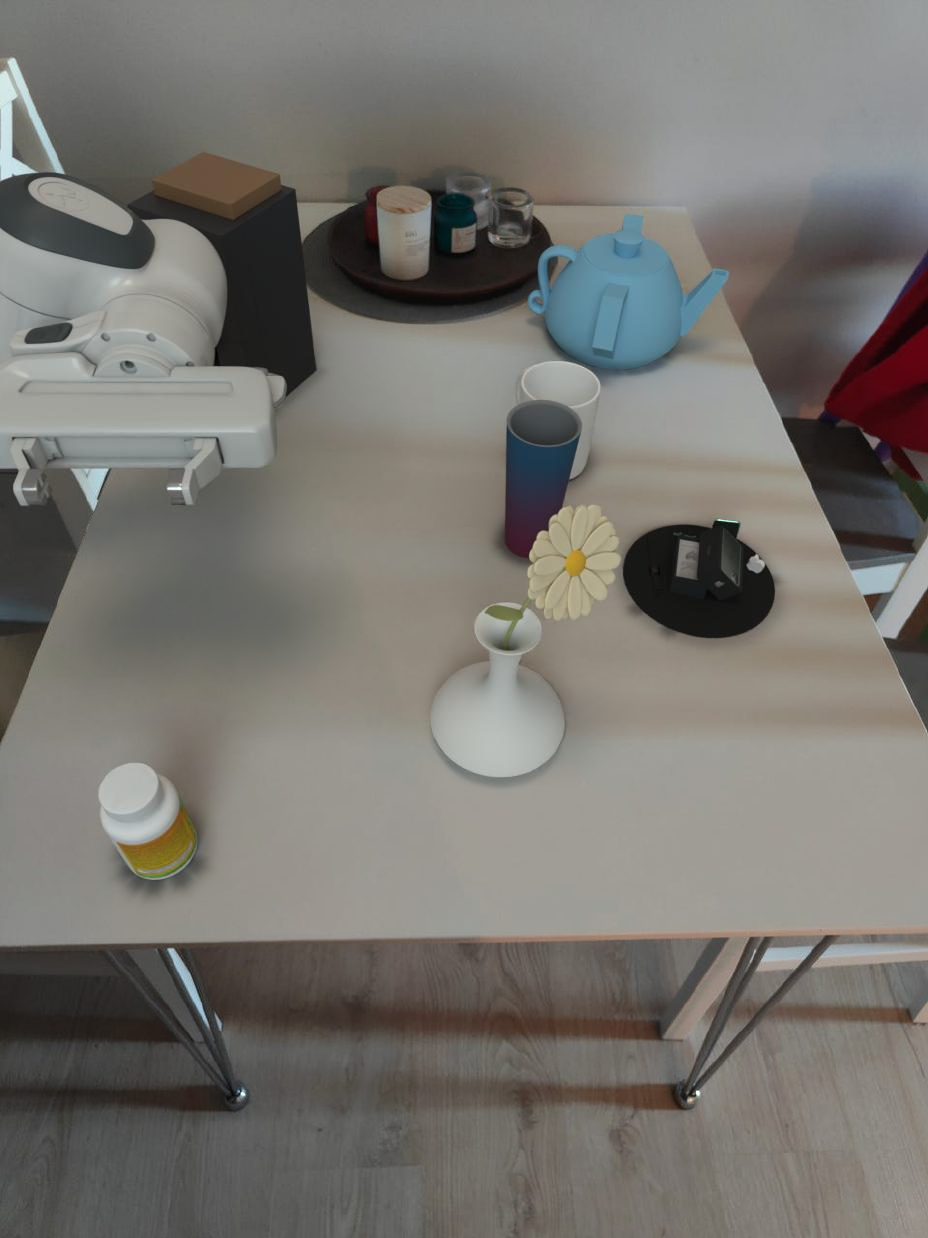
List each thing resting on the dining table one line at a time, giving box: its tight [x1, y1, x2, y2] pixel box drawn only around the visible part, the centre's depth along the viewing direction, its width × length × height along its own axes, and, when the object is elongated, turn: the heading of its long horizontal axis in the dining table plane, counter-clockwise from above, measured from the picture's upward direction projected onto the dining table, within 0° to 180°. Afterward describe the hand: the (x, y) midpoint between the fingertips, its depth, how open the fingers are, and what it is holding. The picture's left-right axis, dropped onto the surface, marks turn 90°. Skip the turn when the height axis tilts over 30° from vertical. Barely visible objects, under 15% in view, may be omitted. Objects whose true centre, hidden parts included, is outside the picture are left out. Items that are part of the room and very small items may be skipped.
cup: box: [504, 400, 582, 559], centre depth 82 cm, size 7×7×15 cm
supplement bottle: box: [97, 761, 198, 881], centre depth 62 cm, size 5×5×10 cm
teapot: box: [527, 213, 730, 370], centre depth 108 cm, size 19×19×14 cm
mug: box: [515, 360, 602, 481], centre depth 93 cm, size 12×8×10 cm
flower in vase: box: [429, 503, 622, 778], centre depth 64 cm, size 13×11×25 cm
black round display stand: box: [622, 518, 776, 639], centre depth 83 cm, size 15×15×6 cm
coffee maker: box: [126, 151, 317, 397], centre depth 94 cm, size 16×12×24 cm
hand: (104, 498), depth 54 cm, fingers open, 8 cm apart
